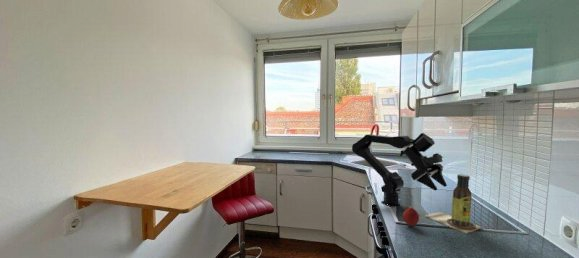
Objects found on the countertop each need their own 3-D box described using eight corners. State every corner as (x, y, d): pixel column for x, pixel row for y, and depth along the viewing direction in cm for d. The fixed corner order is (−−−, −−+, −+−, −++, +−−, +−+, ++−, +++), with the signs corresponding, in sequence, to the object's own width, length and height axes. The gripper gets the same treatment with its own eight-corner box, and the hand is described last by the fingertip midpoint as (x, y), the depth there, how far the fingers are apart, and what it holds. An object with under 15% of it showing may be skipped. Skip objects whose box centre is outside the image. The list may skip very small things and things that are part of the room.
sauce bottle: (464, 228, 98) (467, 177, 97) (447, 222, 104) (450, 174, 103) (473, 225, 102) (475, 175, 101) (456, 219, 107) (458, 172, 106)
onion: (415, 223, 105) (416, 204, 104) (421, 229, 99) (421, 209, 98) (400, 222, 105) (401, 203, 105) (405, 228, 99) (406, 208, 99)
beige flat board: (425, 216, 111) (425, 214, 111) (440, 213, 116) (441, 211, 115) (465, 233, 96) (465, 231, 96) (482, 228, 100) (482, 226, 100)
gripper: (419, 149, 106) (447, 181, 98) (439, 145, 117) (465, 174, 109) (400, 164, 112) (425, 195, 104) (421, 160, 124) (444, 188, 116)
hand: (441, 188), depth 108 cm, fingers open, 9 cm apart
